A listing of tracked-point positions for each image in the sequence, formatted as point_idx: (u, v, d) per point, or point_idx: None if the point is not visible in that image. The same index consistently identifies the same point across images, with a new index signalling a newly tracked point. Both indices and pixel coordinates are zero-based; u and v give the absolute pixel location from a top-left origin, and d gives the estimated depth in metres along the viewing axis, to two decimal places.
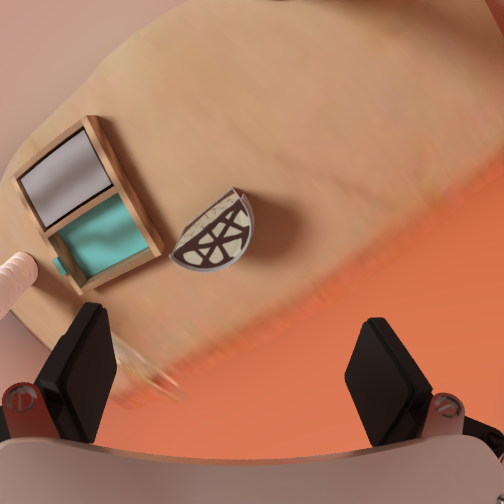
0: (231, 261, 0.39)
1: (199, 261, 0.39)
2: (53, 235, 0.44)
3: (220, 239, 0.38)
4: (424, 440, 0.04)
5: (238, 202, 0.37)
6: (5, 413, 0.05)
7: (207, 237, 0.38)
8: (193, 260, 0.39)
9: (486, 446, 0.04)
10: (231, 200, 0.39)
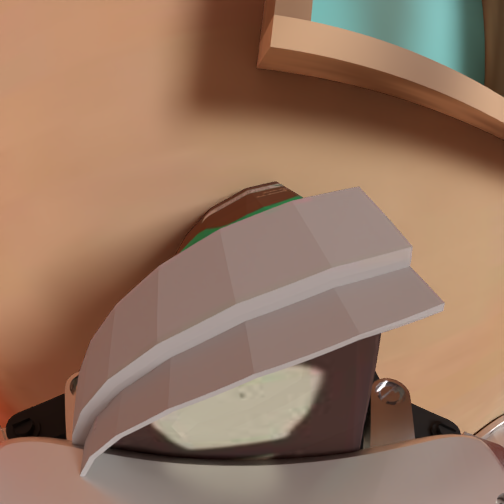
0: None
1: (178, 431, 0.04)
2: None
3: None
4: (424, 440, 0.04)
5: None
6: (71, 401, 0.06)
7: None
8: (210, 408, 0.04)
9: (486, 446, 0.04)
10: None
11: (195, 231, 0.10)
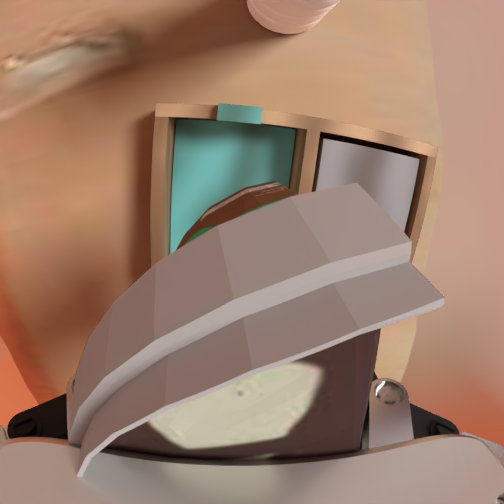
0: None
1: (176, 429, 0.04)
2: None
3: None
4: (424, 440, 0.04)
5: None
6: None
7: None
8: (208, 406, 0.04)
9: (486, 446, 0.04)
10: None
11: (193, 230, 0.10)
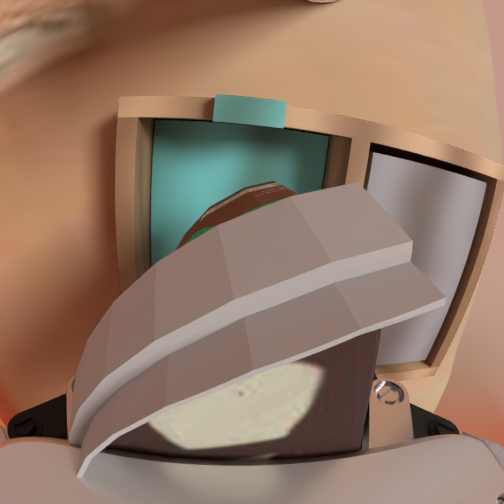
0: None
1: (176, 430, 0.04)
2: None
3: None
4: (424, 440, 0.04)
5: None
6: None
7: None
8: (208, 406, 0.04)
9: (486, 446, 0.04)
10: None
11: (193, 230, 0.10)
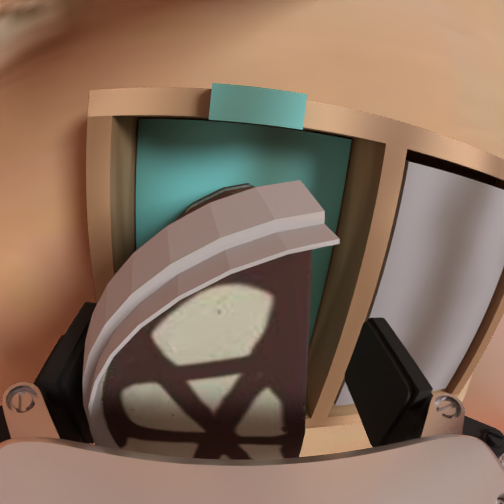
0: (110, 444, 0.07)
1: (171, 345, 0.06)
2: (359, 138, 0.12)
3: (220, 447, 0.08)
4: (424, 440, 0.04)
5: None
6: (5, 413, 0.05)
7: (266, 427, 0.07)
8: (197, 322, 0.06)
9: (486, 446, 0.04)
10: None
11: None
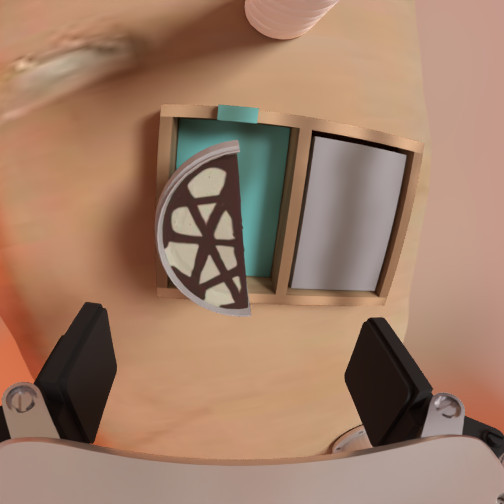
0: (161, 242, 0.20)
1: (193, 189, 0.19)
2: None
3: (208, 248, 0.21)
4: (424, 440, 0.04)
5: (246, 304, 0.22)
6: (5, 413, 0.05)
7: (226, 233, 0.20)
8: (202, 180, 0.19)
9: (486, 446, 0.04)
10: None
11: None
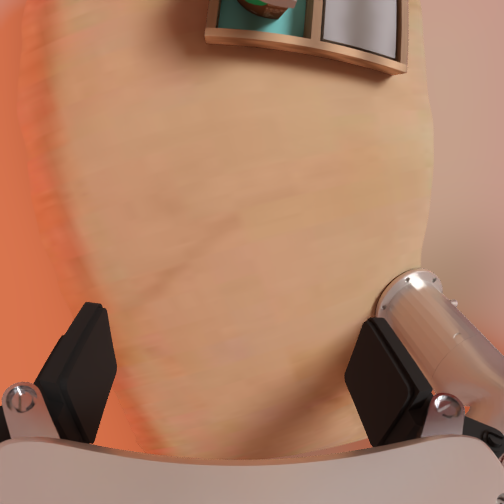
0: None
1: None
2: None
3: None
4: (424, 440, 0.04)
5: None
6: (5, 413, 0.05)
7: None
8: None
9: (486, 446, 0.04)
10: None
11: None
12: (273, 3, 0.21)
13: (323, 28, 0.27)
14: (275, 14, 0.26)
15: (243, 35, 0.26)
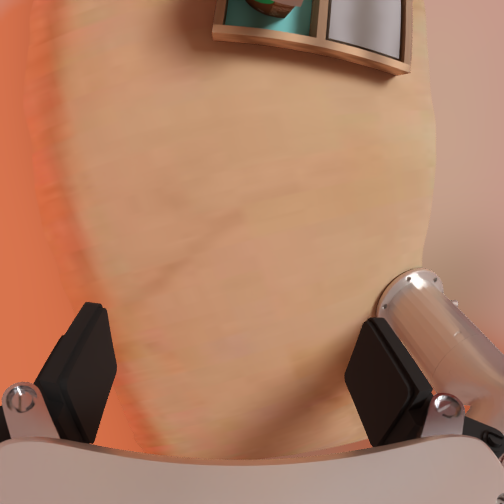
0: None
1: None
2: None
3: None
4: (424, 440, 0.04)
5: None
6: (5, 413, 0.05)
7: None
8: None
9: (486, 446, 0.04)
10: None
11: None
12: (280, 1, 0.22)
13: (328, 27, 0.27)
14: (282, 13, 0.27)
15: (250, 32, 0.27)
